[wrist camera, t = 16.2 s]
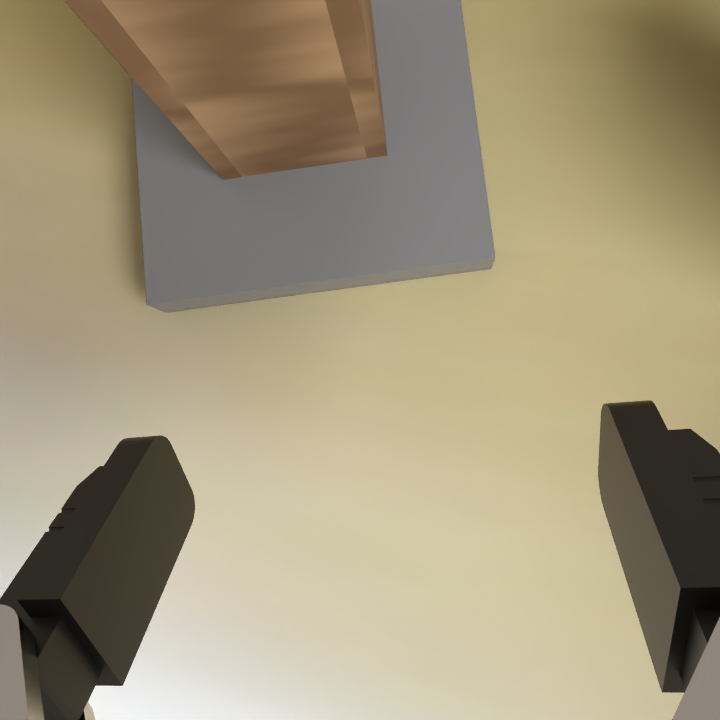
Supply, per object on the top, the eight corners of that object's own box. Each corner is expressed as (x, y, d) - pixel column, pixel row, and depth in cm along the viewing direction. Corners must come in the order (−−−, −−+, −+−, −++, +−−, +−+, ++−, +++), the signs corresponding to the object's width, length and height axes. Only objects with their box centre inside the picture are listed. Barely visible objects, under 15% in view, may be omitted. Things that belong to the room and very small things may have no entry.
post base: (442, -92, 22) (447, -435, 13) (491, 268, 21) (532, 153, 12) (141, -31, 24) (-37, -304, 15) (166, 312, 22) (-18, 239, 13)
